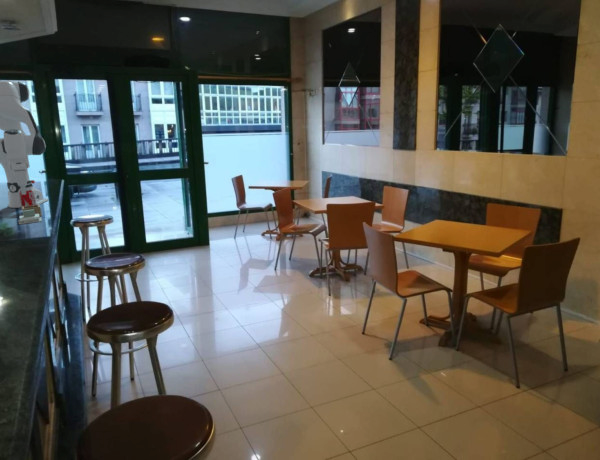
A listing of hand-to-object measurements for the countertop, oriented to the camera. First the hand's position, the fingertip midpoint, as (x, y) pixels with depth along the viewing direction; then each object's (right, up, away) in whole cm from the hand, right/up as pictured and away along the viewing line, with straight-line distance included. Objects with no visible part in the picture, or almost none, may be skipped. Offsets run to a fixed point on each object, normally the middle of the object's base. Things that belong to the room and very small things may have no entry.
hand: (24, 192), depth 231 cm
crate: (-4, -11, +14) cm, 18 cm away
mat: (+1, -14, +3) cm, 14 cm away
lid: (+1, -12, +3) cm, 13 cm away
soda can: (-12, -8, +27) cm, 31 cm away
